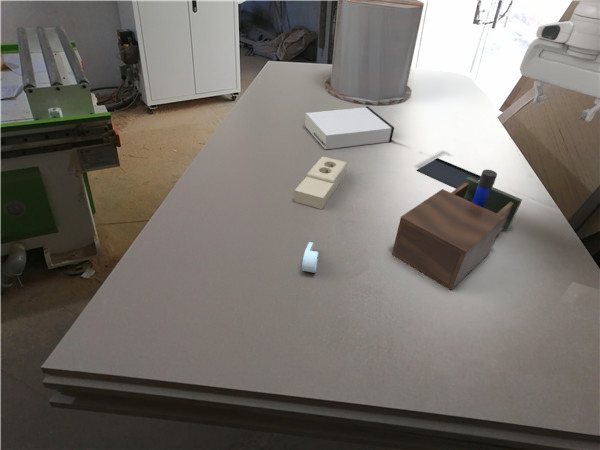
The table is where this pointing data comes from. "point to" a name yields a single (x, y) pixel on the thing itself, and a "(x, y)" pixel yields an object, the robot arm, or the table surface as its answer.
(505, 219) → the drawer
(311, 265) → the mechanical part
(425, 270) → the cabinet
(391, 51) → the storage basket
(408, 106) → the table surface
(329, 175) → the electrical outlet
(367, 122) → the disc drive
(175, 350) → the table surface
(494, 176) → the marker
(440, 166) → the mat
